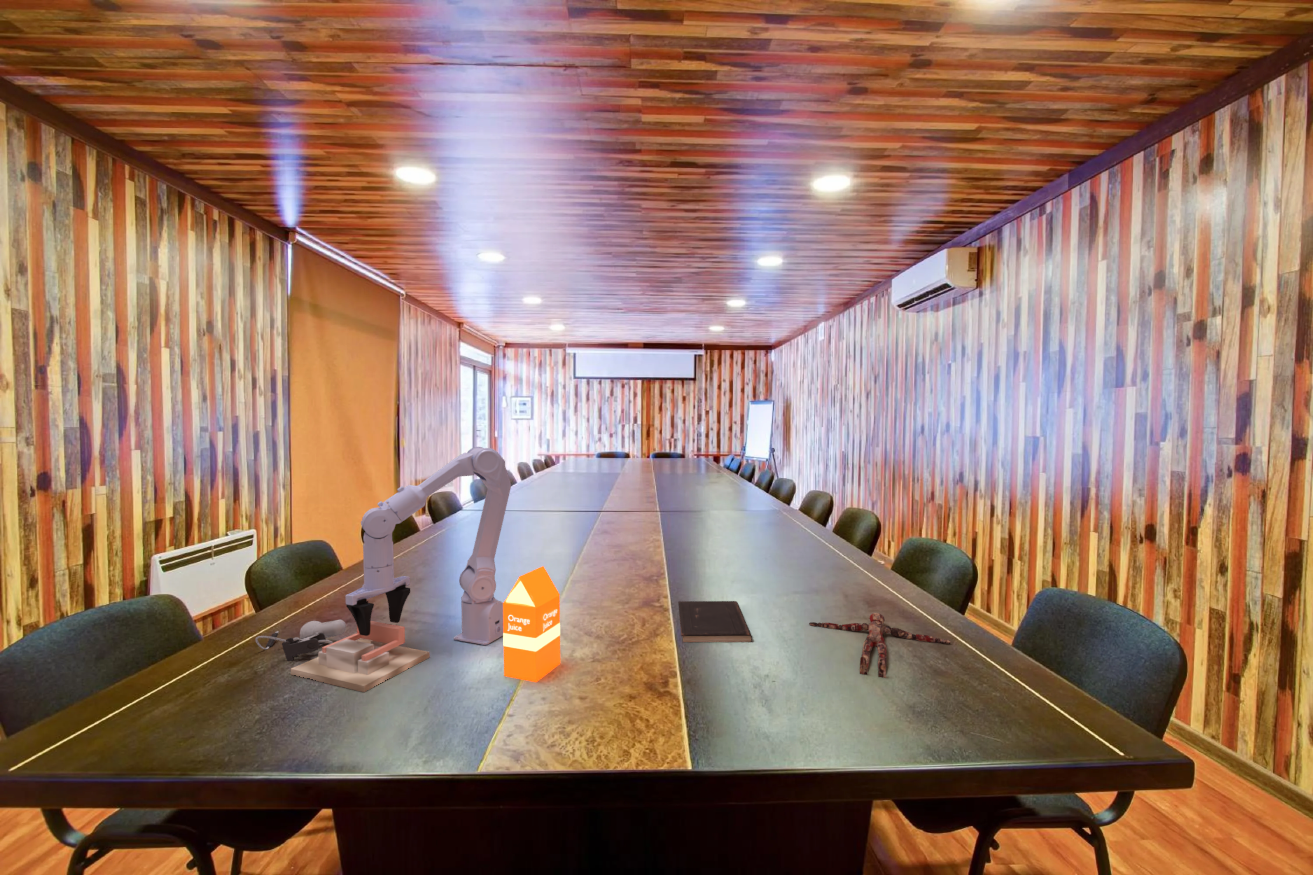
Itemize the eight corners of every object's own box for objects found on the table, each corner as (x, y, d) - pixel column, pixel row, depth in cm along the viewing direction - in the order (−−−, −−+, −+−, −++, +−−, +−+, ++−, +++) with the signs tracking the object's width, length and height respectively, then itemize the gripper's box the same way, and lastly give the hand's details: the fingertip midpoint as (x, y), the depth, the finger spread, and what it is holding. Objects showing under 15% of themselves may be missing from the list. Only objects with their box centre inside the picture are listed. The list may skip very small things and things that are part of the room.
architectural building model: (361, 643, 123) (360, 621, 123) (429, 657, 115) (429, 633, 115) (290, 674, 108) (290, 648, 108) (364, 692, 101) (363, 664, 100)
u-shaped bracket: (363, 634, 119) (363, 619, 119) (404, 642, 114) (404, 626, 114) (322, 652, 110) (321, 635, 110) (365, 661, 105) (365, 644, 105)
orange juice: (503, 675, 107) (501, 575, 106) (529, 657, 115) (528, 563, 114) (537, 682, 104) (535, 579, 103) (561, 663, 112) (560, 567, 111)
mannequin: (772, 639, 125) (772, 621, 125) (847, 612, 142) (847, 595, 141) (878, 684, 103) (878, 662, 103) (951, 646, 120) (951, 626, 120)
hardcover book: (681, 644, 122) (681, 634, 122) (678, 609, 145) (678, 601, 145) (752, 644, 122) (752, 634, 122) (738, 609, 145) (738, 600, 145)
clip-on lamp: (245, 671, 116) (317, 658, 113) (235, 644, 116) (308, 629, 113) (288, 644, 128) (355, 631, 125) (280, 619, 127) (347, 605, 124)
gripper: (392, 555, 124) (394, 614, 124) (334, 571, 110) (335, 638, 110) (416, 557, 121) (417, 618, 121) (359, 575, 107) (360, 642, 108)
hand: (380, 628), depth 116 cm, fingers open, 7 cm apart
